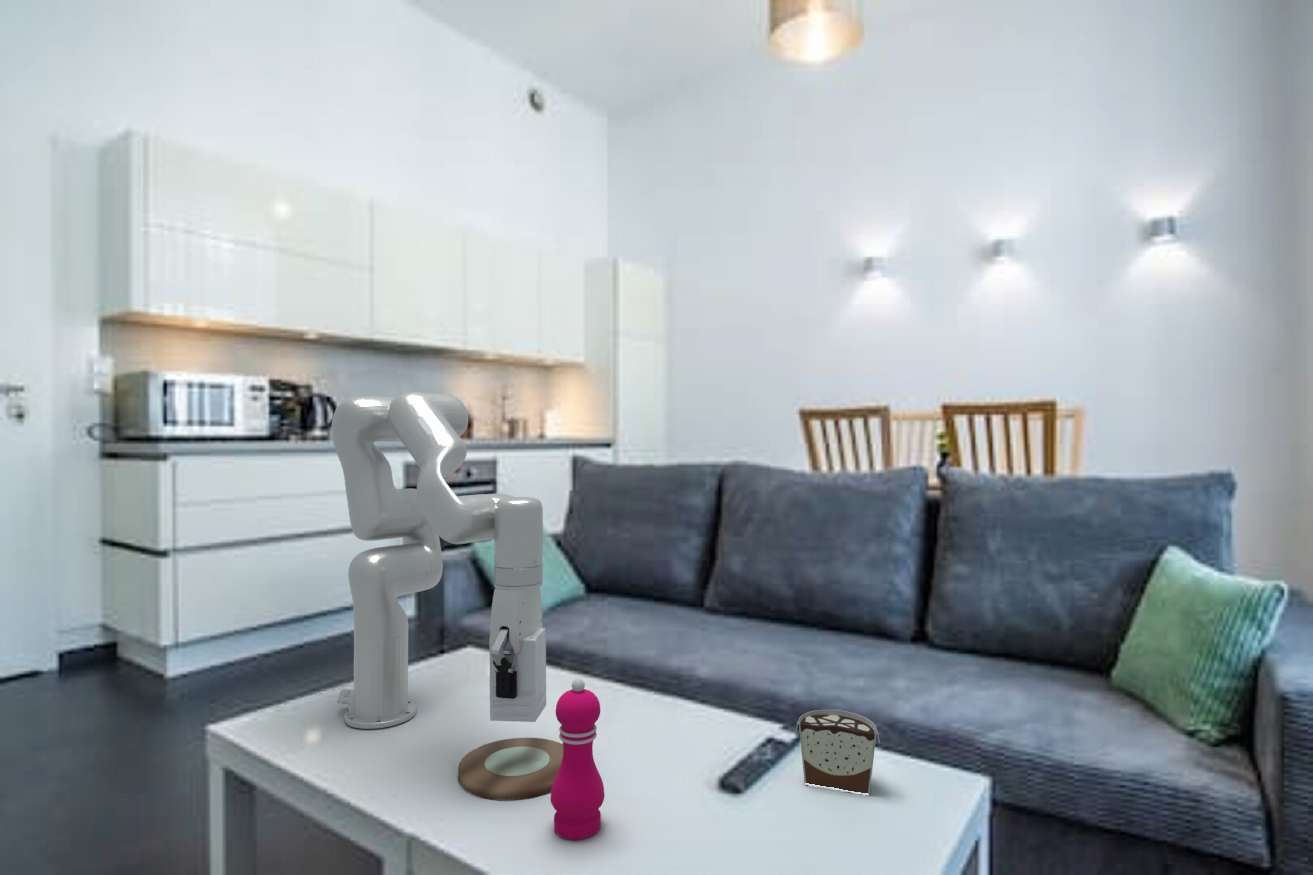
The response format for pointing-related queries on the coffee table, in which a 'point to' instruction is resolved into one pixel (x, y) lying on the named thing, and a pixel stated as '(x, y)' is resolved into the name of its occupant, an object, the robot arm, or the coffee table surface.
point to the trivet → (511, 768)
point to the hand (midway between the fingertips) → (518, 687)
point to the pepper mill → (577, 766)
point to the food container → (837, 749)
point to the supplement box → (523, 682)
